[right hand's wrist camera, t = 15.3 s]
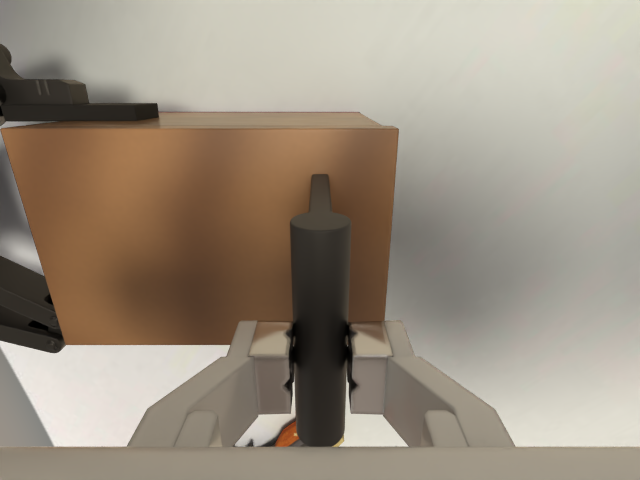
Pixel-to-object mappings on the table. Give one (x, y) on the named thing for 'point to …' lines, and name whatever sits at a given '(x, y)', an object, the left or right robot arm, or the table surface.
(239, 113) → the chest
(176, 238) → the lid
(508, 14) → the table surface
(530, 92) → the table surface
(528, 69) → the table surface
